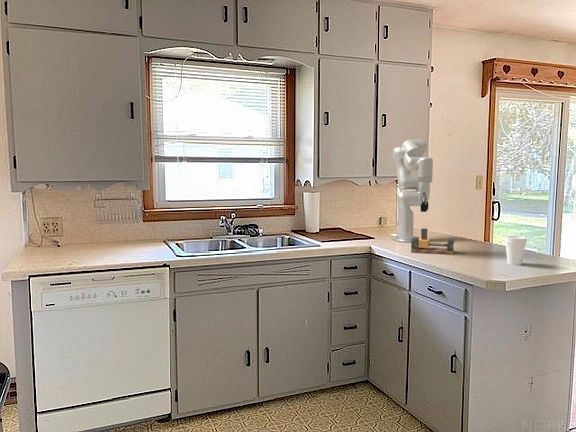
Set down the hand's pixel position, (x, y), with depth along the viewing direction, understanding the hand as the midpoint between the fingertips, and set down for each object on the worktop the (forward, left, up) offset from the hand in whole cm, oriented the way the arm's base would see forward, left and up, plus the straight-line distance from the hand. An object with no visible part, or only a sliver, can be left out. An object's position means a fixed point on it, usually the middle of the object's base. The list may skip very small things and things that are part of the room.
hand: (424, 210), depth 265 cm
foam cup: (+45, -21, -23) cm, 55 cm away
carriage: (0, 0, -20) cm, 20 cm away
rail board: (+5, 0, -23) cm, 23 cm away
